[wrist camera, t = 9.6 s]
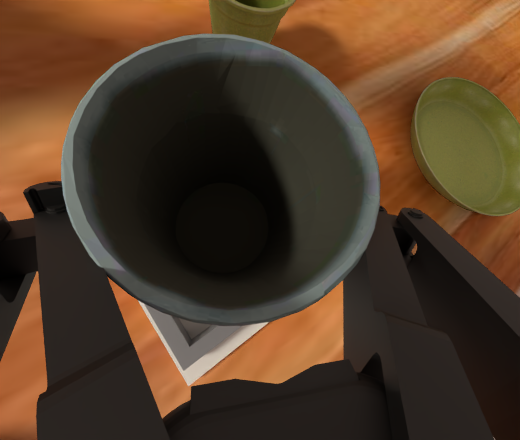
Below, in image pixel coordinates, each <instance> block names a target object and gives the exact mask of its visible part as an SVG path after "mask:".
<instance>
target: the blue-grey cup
mask: <svg viewBox="0 0 520 440" xmlns="http://www.w3.org/2000/svg"><path fill="white" fill-rule="evenodd" d="M61 179H62V188H63V196H64V200H65V204H66V208H67V212H68V215H69V218H70V220H71V223H72V226H73V228H74V230H75V231H76V233H77V235H78V236H79V238H80V240H81V242H82V243H83V245H84V247H85V249H86V250H87V252H88V254H89V256H90V257H91V258H92V259H93V260H94V262H95V263H96V264H97V265H98V266H100V267H102V268H103V267H104V270H105V272H106V275H107V276H108V277H109V278H110V279H111V280H112V281H113V282H115V283H116V284H117V285H118V286H119V287H121V288H122V289H123V290H124V291H126V292H127V293H128V294H129V295H131V296H132V297H134V298H136V299H137V300H139V301H140V302H142V303H144V304H146V305H148V306H150V307H152V308H154V309H156V310H158V311H160V312H162V313H165V314H168V315H171V316H174V317H178V318H181V319H184V320H187V321H190V322H194V323H202V324H210V325H218V326H245V325H252V324H259V323H265V322H271V321H274V320H277V319H280V318H283V317H285V316H288V315H291V314H294V313H297V312H300V311H302V310H303V309H305V308H307V307H309V306H310V305H312V304H314V303H316V302H317V301H319V300H320V299H321V298H323V297H324V296H325V295H327V294H328V293H329V292H330V291H331V290H332V289H333V288H335V287H336V286H337V285H338V284H339V283H340V282H341V281H342V280H344V279H345V277H346V276H347V275H348V274H349V273H350V272H351V271H352V269H353V268H354V267H355V266H356V265H357V264H358V262H359V260H360V259H361V257H362V255H363V254H364V252H365V250H366V249H367V246H368V244H369V242H370V239H371V237H372V234H373V232H374V229H375V225H376V220H377V215H378V211H379V206H380V176H379V167H378V163H377V159H376V155H375V151H374V147H373V145H372V142H371V140H370V137H369V135H368V132H367V130H366V128H365V126H364V124H363V123H362V121H361V119H360V117H359V116H358V114H357V112H356V110H355V109H354V108H353V106H352V105H351V104H350V102H349V101H348V100H347V98H346V97H345V96H344V95H343V94H342V93H341V92H340V90H339V89H338V88H337V87H336V86H335V85H334V84H333V83H332V82H331V81H330V80H329V79H328V78H327V77H325V76H324V75H323V74H322V73H320V72H319V71H318V70H317V69H316V68H314V67H313V66H311V65H309V64H308V63H306V62H305V61H303V60H302V59H300V58H298V57H297V56H295V55H293V54H291V53H290V52H288V51H286V50H284V49H281V48H279V47H276V46H274V45H271V44H268V43H266V42H263V41H259V40H255V39H251V38H246V37H242V36H238V35H228V34H198V35H188V36H181V37H178V38H175V39H171V40H168V41H165V42H161V43H158V44H155V45H151V46H148V47H144V48H142V49H140V50H138V51H137V52H135V53H133V54H131V55H130V56H128V57H126V58H125V59H123V60H121V61H119V62H118V63H116V64H114V65H113V66H112V67H111V68H110V69H109V70H108V71H106V72H105V73H104V74H103V75H102V76H101V77H100V78H99V79H98V80H96V82H95V83H94V84H93V86H92V87H91V88H90V89H89V91H88V92H87V93H86V95H85V96H84V97H83V99H82V100H81V101H80V103H79V105H78V107H77V109H76V111H75V113H74V115H73V117H72V119H71V122H70V125H69V128H68V131H67V135H66V138H65V141H64V145H63V152H62V161H61Z"/></svg>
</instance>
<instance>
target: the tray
mask: <svg viewBox="0 0 520 440" xmlns="http://www.w3.org/2000/svg"><path fill="white" fill-rule="evenodd" d="M138 301H139V300H138ZM139 303H140V305H141V306H142V308H143V310H144V311H145V313H146V315H147V316H148V318H149V320H150V322H151V323H152V325H153V327H154V328H155V330H156V332H157V333H158V335H159V337H160V339H161V340H162V342H163V344H164V345H165V347H166V349H167V350H168V352H169V354H170V356H171V357H172V359H173V361H174V362H175V364H176V366H177V367H178V369H179V371H180V372H181V374H182V376H183V378H184V379H185V381H186V383H187V384H188V386H189V385H191V384H192V383H193V382H194V381H196V380H197V379H198V378H199V377H201V376H202V375H203V374H205V373H206V372H207V371H208V370H210V369H211V368H212V367H213V366H215V365H216V364H217V363H218V362H220V361H221V360H222V359H223V358H225V357H226V356H227V355H228V354H230V353H231V352H232V351H233V350H235V349H236V348H237V347H238V346H240V345H241V344H242V343H243V342H245V341H246V340H247V339H248V338H250V337H251V336H252V335H254V334H255V333H256V332H257V331H259V330H260V329H261V328H262V327H264V326H265V325H266V324H267V323H269V322H265V323H259V324H252V325H245V326H218V325H210V324H202V323H194V322H190V321H187V320H184V319H181V318H178V317H174V316H171V315H168V314H165V313H162V312H160V311H158V310H156V309H154V308H152V307H150V306H148V305H146V304H144V303H142V302H140V301H139Z"/></svg>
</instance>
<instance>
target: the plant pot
mask: <svg viewBox="0 0 520 440" xmlns="http://www.w3.org/2000/svg"><path fill="white" fill-rule="evenodd" d="M295 1H296V0H209V6H210V15H211V24H212V33H213V34H228V35H238V36H242V37H246V38H251V39H255V40H259V41H263V42H266V43H268V44H270V43H271V41H272V38H273V36H274V34H275V32H276V29H277V27H278V25H279V22H280V20H281V18H282V17H283V16H284V15H285V14H286V12H287V10H288V8H289V7H290V6H292V5H293V4H294V2H295Z"/></svg>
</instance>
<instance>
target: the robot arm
mask: <svg viewBox="0 0 520 440" xmlns="http://www.w3.org/2000/svg"><path fill="white" fill-rule="evenodd" d="M23 193H24V195H25V197H26V199H27V201H28V203H29V205H30V207H31V209H32V211H33V213H34V218H30V219H24V220H17V221H10V222H8V221H7V219H6V217H5V216H4V214H3V213H1V212H0V361H1V358H2V356H3V353H4V351H5V348H6V346H7V343H8V341H9V339H10V336H11V334H12V331H13V329H14V326H15V324H16V321H17V319H18V316H19V314H20V311H21V309H22V306H23V304H24V301H25V299H26V297H27V294H28V292H29V289H30V287H31V284H32V282H33V279H34V277H35V274H36V271H38V273H39V285H40V297H41V309H42V321H43V333H44V345H45V357H46V369H47V390H46V392H44V393H42V394H40V395H39V398H38V401H37V414H36V418H37V440H494V438H495V440H520V298H519V297H518V296H517V295H516V294H515V293H514V292H513V291H512V290H510V289H509V288H508V287H507V286H506V285H505V284H504V283H503V282H501V281H500V280H499V279H498V278H497V277H496V276H495V275H494V274H493V273H491V272H490V271H489V270H488V269H487V268H486V267H485V266H484V265H483V264H481V263H480V262H479V261H478V260H477V259H476V258H475V257H474V256H473V255H471V254H470V253H469V252H468V251H467V250H466V249H465V248H464V247H463V246H461V245H460V244H459V243H458V242H457V241H456V240H455V239H454V238H452V237H451V236H450V235H449V234H448V233H447V232H446V231H445V230H444V229H442V228H441V227H440V226H439V225H438V224H437V223H436V222H435V221H434V220H432V219H431V218H430V217H429V216H428V215H426V214H425V213H423V212H422V211H420V210H418V209H414V208H413V209H411V208H402V209H401V211H400V213H399V215H398V216H396V215H390V214H387V211H386V210H385V208H384V207H382V206H379V211H378V215H377V220H376V225H375V229H374V232H373V234H372V237H371V239H370V242H369V244H368V246H367V249H366V250H365V252H364V254H363V255H362V257H361V259H360V260H359V262H358V264H357V265H356V266H355V267H354V268H353V269H352V271H351V272H350V273H349V274H348V275H347V276H346V277H345V279H344V280H343V313H344V360H340V361H335V362H329V363H323V364H317V365H314V366H312V367H310V368H308V369H307V370H305V371H303V372H301V373H299V374H298V375H296V376H294V377H292V378H290V379H288V380H287V381H285V382H283V383H280V384H272V383H264V382H256V381H248V380H239V379H232V380H226V381H220V382H215V383H209V384H203V385H197V386H192V387H191V400H190V401H188V402H186V403H184V404H182V405H180V406H179V407H177V408H176V409H174V410H173V411H171V412H170V413H169V414H167V415H166V416H165V417H164V418H163V419H162V417H161V415H160V412H159V410H158V407H157V404H156V402H155V399H154V397H153V394H152V391H151V389H150V386H149V384H148V381H147V378H146V376H145V373H144V371H143V368H142V365H141V363H140V360H139V357H138V355H137V352H136V350H135V347H134V345H133V343H132V340H131V338H130V335H129V333H128V330H127V327H126V325H125V322H124V320H123V317H122V314H121V312H120V309H119V306H118V304H117V301H116V299H115V296H114V293H113V291H112V288H111V286H110V283H109V280H108V278H107V275H106V272H105V270H104V267H103V268H102V267H100V266H98V265H97V264H96V263H95V262H94V260H93V259H92V258H91V257H90V256H89V254H88V252H87V250H86V249H85V247H84V245H83V243H82V242H81V240H80V238H79V236H78V235H77V233H76V231H75V230H74V228H73V226H72V223H71V220H70V218H69V215H68V212H67V208H66V204H65V200H64V196H63V188H62V181H53V182H45V183H39V184H36V185H33V186H30V187H28V188H27V189H25V190H24V192H23ZM416 243H417V251H416V253H415V255H413V254H412V253H411V251H412V249H413V248H414V246H415V244H416ZM493 437H494V438H493Z"/></svg>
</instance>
